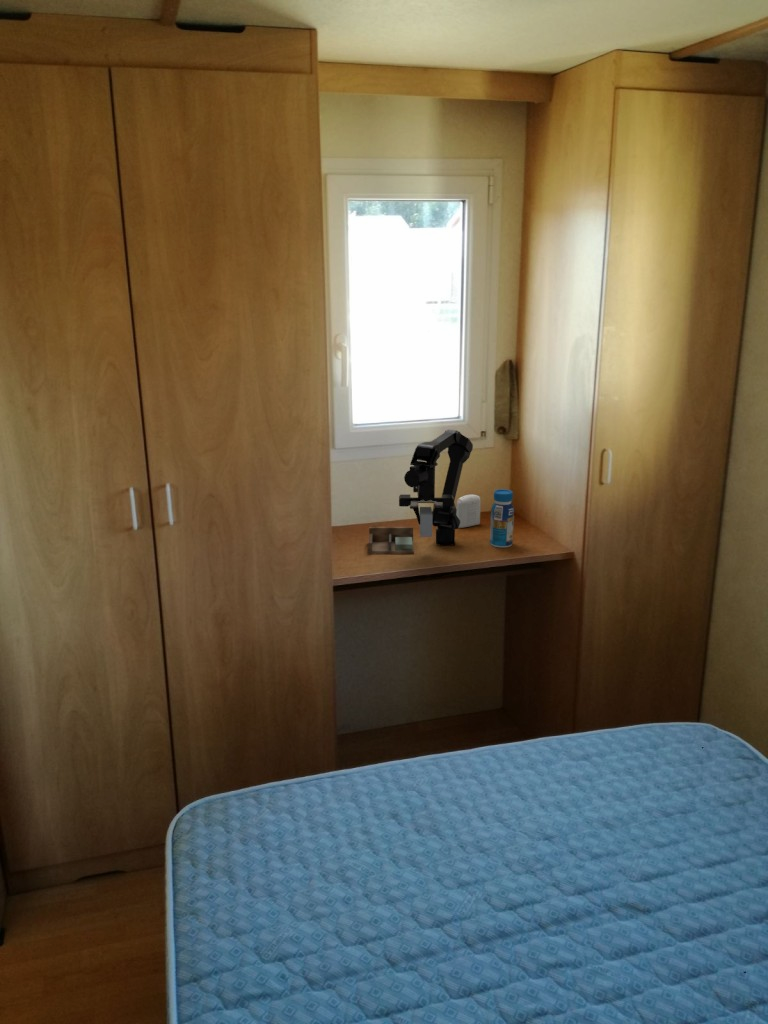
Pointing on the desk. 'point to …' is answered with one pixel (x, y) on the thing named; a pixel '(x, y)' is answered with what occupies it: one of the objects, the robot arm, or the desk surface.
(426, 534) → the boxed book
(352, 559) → the desk surface
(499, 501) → the beverage bottle
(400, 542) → the book rack
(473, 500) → the photo printer
